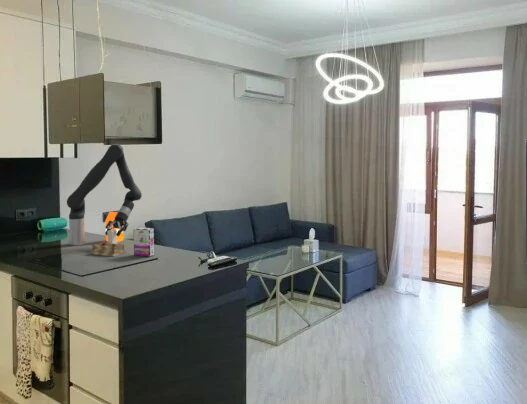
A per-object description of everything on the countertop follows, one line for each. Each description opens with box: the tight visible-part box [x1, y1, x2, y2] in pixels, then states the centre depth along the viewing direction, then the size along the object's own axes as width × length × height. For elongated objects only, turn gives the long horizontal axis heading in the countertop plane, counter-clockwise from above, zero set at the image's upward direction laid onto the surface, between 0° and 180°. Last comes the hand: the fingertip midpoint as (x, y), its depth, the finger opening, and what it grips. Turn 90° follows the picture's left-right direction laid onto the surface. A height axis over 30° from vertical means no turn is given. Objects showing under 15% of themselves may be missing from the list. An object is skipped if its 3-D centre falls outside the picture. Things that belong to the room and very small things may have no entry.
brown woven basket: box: [90, 242, 127, 257], centre depth 291 cm, size 17×11×5 cm, turn 68°
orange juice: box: [105, 211, 124, 243], centre depth 330 cm, size 8×9×20 cm
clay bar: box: [107, 230, 118, 244], centre depth 303 cm, size 4×4×12 cm
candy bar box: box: [133, 227, 155, 258], centre depth 286 cm, size 11×5×16 cm, turn 71°
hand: (111, 235), depth 302 cm, fingers open, 8 cm apart
